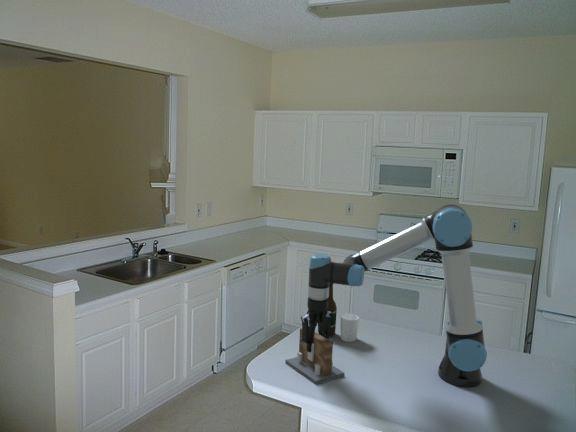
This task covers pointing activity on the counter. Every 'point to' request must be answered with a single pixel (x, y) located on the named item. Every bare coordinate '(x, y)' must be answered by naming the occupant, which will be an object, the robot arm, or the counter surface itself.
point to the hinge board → (312, 370)
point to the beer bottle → (332, 310)
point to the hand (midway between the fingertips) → (314, 358)
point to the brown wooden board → (318, 353)
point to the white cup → (349, 327)
